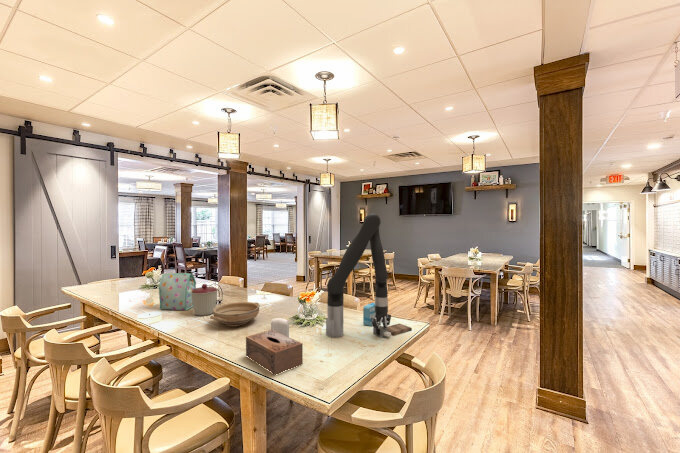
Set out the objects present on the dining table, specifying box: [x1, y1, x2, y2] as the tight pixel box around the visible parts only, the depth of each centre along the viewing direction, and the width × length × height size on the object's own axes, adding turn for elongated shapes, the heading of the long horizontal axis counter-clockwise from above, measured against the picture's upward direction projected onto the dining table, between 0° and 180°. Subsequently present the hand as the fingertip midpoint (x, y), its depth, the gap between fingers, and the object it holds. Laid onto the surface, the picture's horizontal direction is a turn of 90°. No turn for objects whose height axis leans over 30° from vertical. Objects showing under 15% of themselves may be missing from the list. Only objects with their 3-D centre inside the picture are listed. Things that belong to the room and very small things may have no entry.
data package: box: [362, 302, 376, 327], centre depth 200 cm, size 12×4×12 cm, turn 142°
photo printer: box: [270, 317, 290, 338], centre depth 171 cm, size 10×4×12 cm, turn 72°
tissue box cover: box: [245, 329, 304, 376], centre depth 146 cm, size 26×14×10 cm, turn 44°
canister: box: [190, 283, 219, 317], centre depth 221 cm, size 18×18×21 cm
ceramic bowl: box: [210, 301, 261, 327], centre depth 201 cm, size 37×28×10 cm
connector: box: [372, 325, 392, 338], centre depth 179 cm, size 12×4×4 cm, turn 35°
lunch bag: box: [158, 272, 197, 311], centre depth 236 cm, size 23×16×27 cm
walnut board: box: [387, 323, 413, 337], centre depth 186 cm, size 15×10×2 cm, turn 126°
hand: (381, 333), depth 179 cm, fingers closed on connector, 4 cm apart
